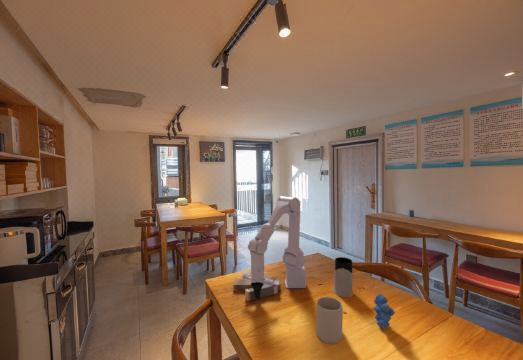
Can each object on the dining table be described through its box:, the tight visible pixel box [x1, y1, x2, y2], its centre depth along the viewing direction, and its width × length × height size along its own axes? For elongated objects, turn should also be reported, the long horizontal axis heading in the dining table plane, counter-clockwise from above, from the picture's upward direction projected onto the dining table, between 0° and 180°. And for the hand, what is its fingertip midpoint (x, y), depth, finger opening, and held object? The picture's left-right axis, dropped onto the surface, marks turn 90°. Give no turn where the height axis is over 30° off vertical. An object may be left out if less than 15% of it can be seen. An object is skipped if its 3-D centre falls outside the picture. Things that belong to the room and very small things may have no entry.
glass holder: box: [332, 256, 354, 298], centre depth 110 cm, size 9×14×15 cm, turn 158°
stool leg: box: [244, 284, 279, 302], centre depth 104 cm, size 15×3×4 cm, turn 117°
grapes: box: [373, 293, 396, 329], centre depth 83 cm, size 12×7×12 cm, turn 169°
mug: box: [315, 296, 344, 345], centre depth 81 cm, size 12×8×11 cm
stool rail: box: [232, 277, 281, 292], centre depth 110 cm, size 22×10×5 cm, turn 90°
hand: (257, 298), depth 100 cm, fingers closed
